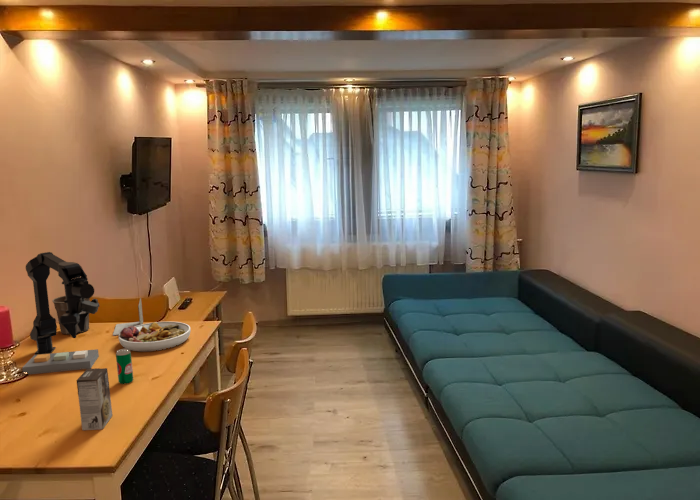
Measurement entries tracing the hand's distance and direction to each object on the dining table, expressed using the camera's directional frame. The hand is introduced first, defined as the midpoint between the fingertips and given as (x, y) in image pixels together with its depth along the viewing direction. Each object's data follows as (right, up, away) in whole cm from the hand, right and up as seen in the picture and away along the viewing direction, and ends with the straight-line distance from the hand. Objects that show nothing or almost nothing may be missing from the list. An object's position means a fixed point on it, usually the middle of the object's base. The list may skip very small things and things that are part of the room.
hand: (78, 334), depth 223 cm
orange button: (-14, -11, 0) cm, 18 cm away
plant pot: (-24, -5, +46) cm, 52 cm away
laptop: (+1, -5, +47) cm, 47 cm away
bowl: (+21, -8, +27) cm, 35 cm away
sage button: (-7, -11, +1) cm, 13 cm away
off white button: (0, -10, +2) cm, 11 cm away
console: (-7, -12, +1) cm, 14 cm away
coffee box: (+29, -20, -49) cm, 60 cm away
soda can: (+26, -15, -17) cm, 34 cm away
